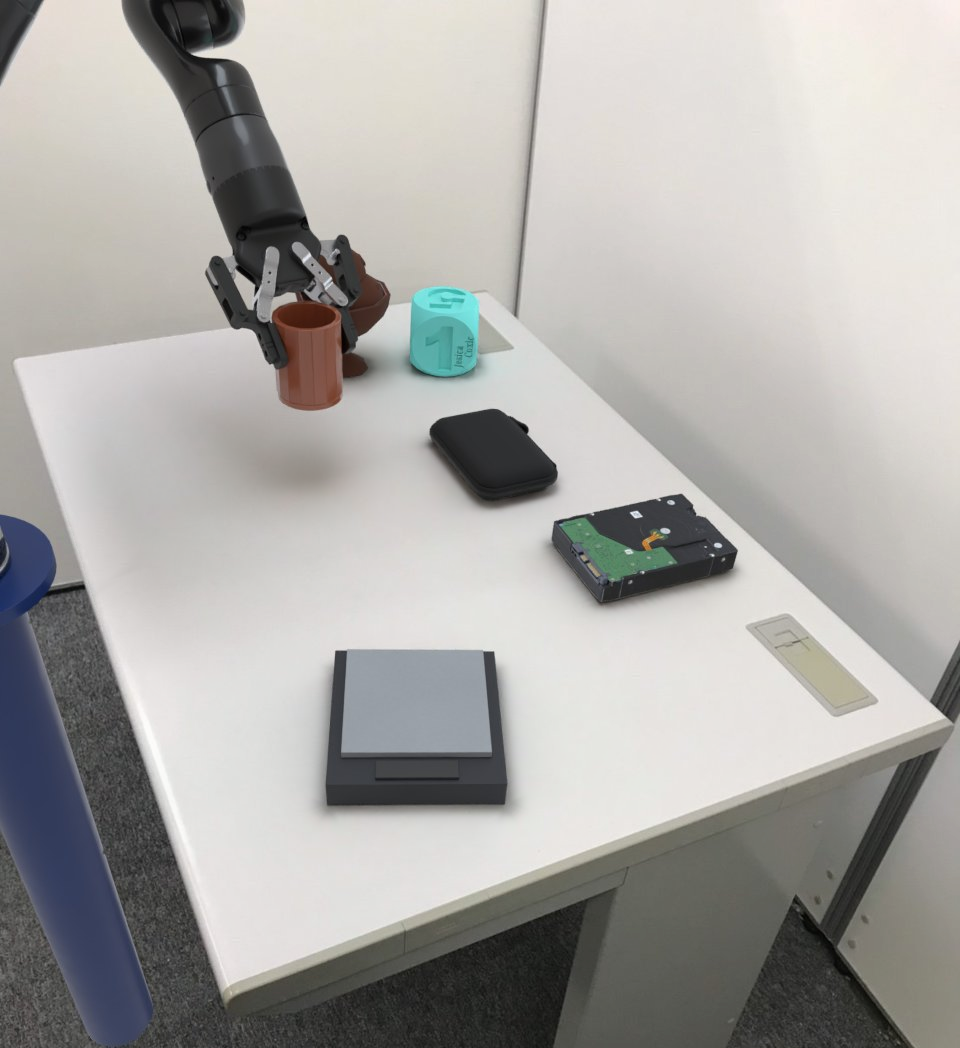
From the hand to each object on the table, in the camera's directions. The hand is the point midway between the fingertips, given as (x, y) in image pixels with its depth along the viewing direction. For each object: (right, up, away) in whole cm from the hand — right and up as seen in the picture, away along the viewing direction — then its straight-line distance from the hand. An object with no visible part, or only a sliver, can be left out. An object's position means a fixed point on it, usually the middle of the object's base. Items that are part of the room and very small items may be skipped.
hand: (316, 357), depth 92 cm
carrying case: (+17, -7, +15) cm, 24 cm away
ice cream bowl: (-1, +7, +29) cm, 30 cm away
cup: (-1, -2, +4) cm, 5 cm away
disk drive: (+31, -18, +5) cm, 36 cm away
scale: (+10, -33, -14) cm, 38 cm away
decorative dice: (+10, +8, +32) cm, 35 cm away
